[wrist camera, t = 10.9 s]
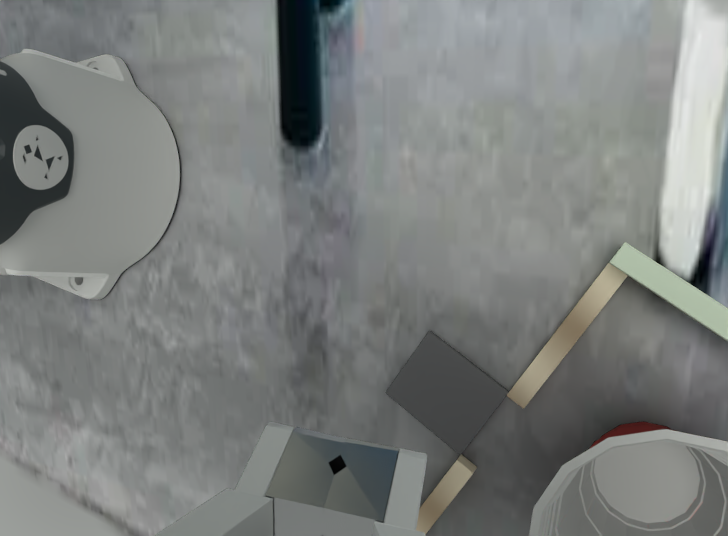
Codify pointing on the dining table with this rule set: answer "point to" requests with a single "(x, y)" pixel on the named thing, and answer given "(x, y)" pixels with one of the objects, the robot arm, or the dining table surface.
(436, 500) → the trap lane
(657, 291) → the end stop
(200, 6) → the dining table surface
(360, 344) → the dining table surface
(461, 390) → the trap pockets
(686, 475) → the plastic cup
